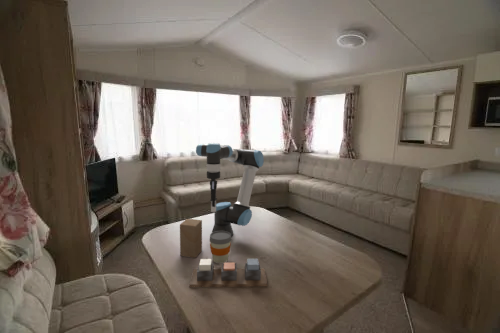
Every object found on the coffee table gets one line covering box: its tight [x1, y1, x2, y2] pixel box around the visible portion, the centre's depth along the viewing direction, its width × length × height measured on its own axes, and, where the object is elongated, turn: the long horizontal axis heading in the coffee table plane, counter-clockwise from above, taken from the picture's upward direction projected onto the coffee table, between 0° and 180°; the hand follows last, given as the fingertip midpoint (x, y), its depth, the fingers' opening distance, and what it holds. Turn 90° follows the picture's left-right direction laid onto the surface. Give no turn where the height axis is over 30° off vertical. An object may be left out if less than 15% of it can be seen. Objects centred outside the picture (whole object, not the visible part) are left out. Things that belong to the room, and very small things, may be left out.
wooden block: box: [179, 218, 203, 259], centre depth 151 cm, size 10×10×20 cm
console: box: [189, 262, 268, 288], centre depth 128 cm, size 38×13×6 cm, turn 94°
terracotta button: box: [224, 261, 236, 271], centre depth 128 cm, size 6×6×5 cm
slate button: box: [246, 258, 260, 270], centre depth 128 cm, size 6×6×5 cm
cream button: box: [198, 258, 213, 271], centre depth 127 cm, size 6×6×5 cm
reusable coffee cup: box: [209, 231, 232, 264], centre depth 146 cm, size 13×13×15 cm
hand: (213, 211), depth 144 cm, fingers closed
